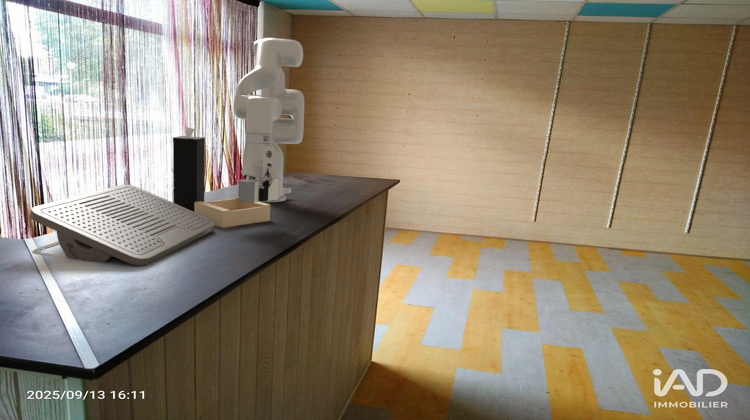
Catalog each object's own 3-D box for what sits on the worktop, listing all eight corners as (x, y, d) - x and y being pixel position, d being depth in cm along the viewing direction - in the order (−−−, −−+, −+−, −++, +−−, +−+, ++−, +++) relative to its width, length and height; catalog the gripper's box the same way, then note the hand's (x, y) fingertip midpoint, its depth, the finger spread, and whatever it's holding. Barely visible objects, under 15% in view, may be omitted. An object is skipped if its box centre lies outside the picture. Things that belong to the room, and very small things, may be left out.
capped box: (267, 196, 168) (267, 177, 167) (277, 199, 165) (278, 180, 164) (238, 200, 160) (238, 180, 158) (248, 203, 157) (249, 182, 155)
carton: (241, 213, 184) (241, 196, 182) (269, 222, 174) (270, 204, 173) (194, 220, 170) (194, 202, 168) (222, 230, 161) (223, 211, 159)
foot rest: (142, 277, 120) (142, 222, 117) (22, 261, 124) (18, 208, 121) (219, 235, 157) (219, 193, 155) (124, 224, 161) (123, 182, 159)
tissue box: (196, 213, 178) (197, 129, 172) (173, 212, 178) (172, 127, 172) (204, 209, 186) (205, 127, 180) (181, 207, 186) (181, 125, 180)
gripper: (287, 142, 156) (285, 203, 160) (250, 136, 166) (249, 193, 170) (267, 142, 150) (265, 205, 154) (230, 136, 161) (229, 195, 164)
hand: (257, 198), depth 162 cm, fingers closed on capped box, 5 cm apart
